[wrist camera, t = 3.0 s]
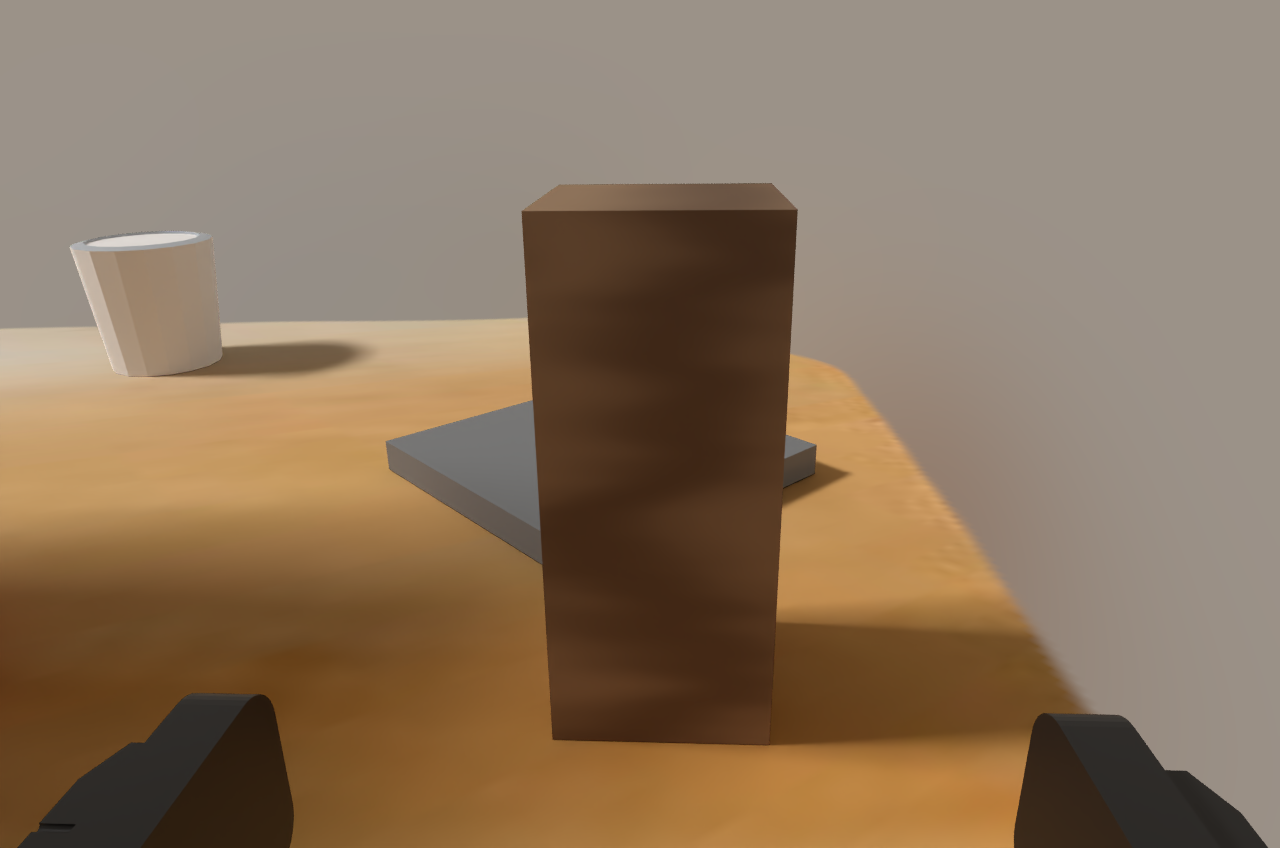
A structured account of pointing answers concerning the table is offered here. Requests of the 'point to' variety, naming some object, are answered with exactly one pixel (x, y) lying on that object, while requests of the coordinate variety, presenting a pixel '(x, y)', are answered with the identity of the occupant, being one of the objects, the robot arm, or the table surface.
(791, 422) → the table surface
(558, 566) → the walnut block
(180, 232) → the white cup
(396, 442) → the slate tile
